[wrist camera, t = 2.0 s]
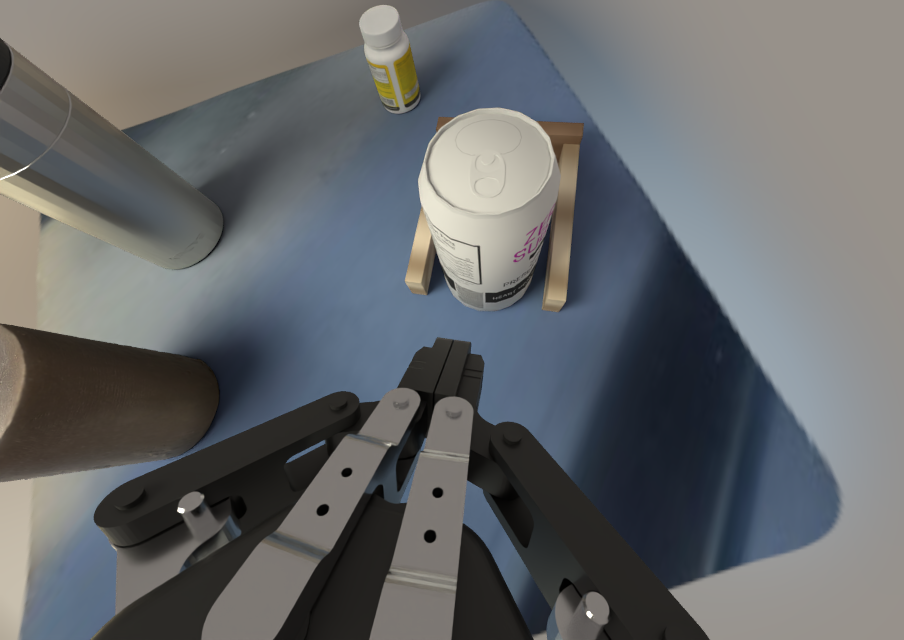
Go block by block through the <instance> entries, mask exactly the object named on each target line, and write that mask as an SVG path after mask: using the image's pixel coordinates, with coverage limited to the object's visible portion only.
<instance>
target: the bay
mask: <svg viewBox="0 0 904 640" xmlns="http://www.w3.org/2000/svg"><path fill="white" fill-rule="evenodd" d="M452 119H454V118H452V117H439V118H438V122H437V127H436V131H437V132H438V130H439V129H440V128H441V127H442V126H444V125H445V124H447V123H448V122H450V121H451V120H452ZM536 122H538V124H539V125H540V126H541V127H542V129H543V130H544V131H545V132H546V134H547V135H548V136H549V137H550V140H551V144H552V148H553V151H554V154H555V156H556V159H557V163H558V167H559V171H560V174H561V178H560V184H559V190H558V196H557V200H556V203H555V206H554V210H553V213H552V221H551V230H550V240H549V249H548V258H547V268H546V277H545V286H544V296H543V305H542V310H547V311H554V312H559V311H560V309H561V308H562V306H563V305H564V303H565V302H566V295H567V284H568V273H569V261H570V250H571V238H572V227H573V216H574V204H575V193H576V182H577V170H578V159H579V148H580V142H581V140H582V137H583V126H584V123H565V122H542V121H536ZM435 254H436V248H435V245H434V242H433V239H432V235H431V232H430V229H429V226H428V223H427V220H426V217H425V214H424V211H423V207H422V208H421V212H420V217H419V221H418V225H417V230H416V234H415V239H414V243H413V248H412V252H411V256H410V261H409V265H408V270H407V274H406V278H405V282H406V284H407V285H408V287H409V289H410V290H411V292H412V293H415V294H423V295H427V293H428V288H429V283H430V279H431V274H432V269H433V264H434V259H435Z"/></svg>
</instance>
